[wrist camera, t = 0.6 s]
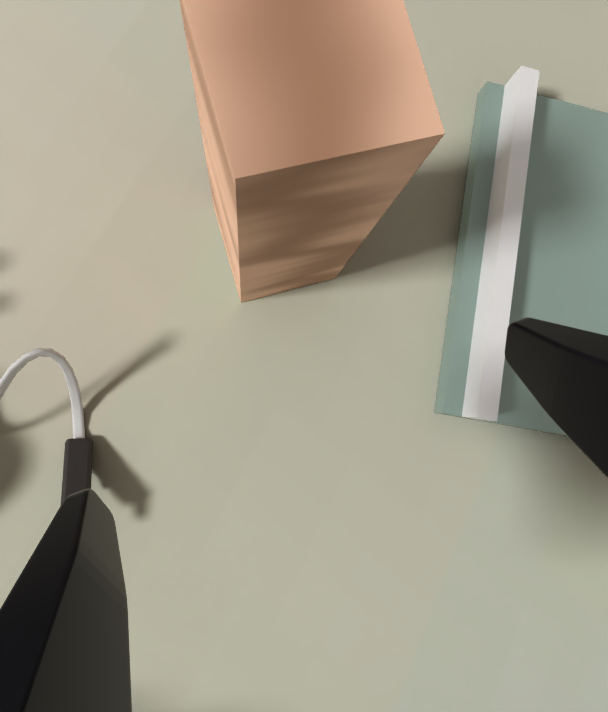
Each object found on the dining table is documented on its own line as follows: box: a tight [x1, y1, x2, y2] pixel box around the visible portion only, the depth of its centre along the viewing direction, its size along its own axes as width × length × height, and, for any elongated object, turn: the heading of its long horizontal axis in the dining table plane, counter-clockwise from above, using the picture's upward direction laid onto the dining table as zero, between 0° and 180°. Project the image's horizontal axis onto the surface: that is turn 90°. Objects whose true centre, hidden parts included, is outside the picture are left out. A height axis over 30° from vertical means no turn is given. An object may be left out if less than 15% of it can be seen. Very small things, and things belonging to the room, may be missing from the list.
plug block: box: [180, 0, 445, 302], centre depth 17 cm, size 5×5×13 cm
